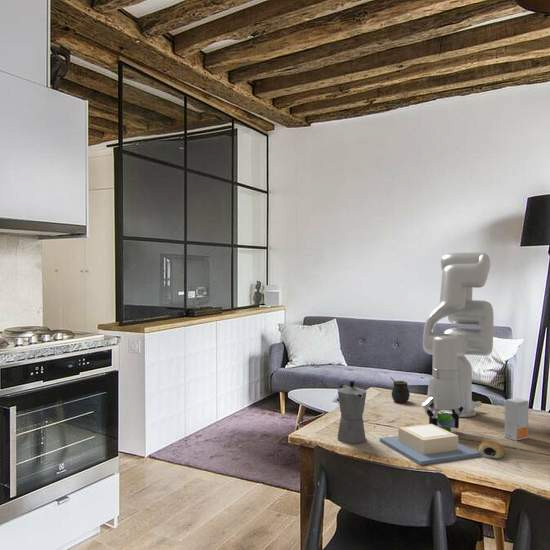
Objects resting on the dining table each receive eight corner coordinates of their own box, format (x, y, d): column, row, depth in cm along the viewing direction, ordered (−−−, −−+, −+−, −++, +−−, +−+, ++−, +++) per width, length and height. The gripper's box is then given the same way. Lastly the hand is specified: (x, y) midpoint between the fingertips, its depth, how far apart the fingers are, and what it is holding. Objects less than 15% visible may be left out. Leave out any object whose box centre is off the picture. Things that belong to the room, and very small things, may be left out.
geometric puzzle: (454, 431, 151) (455, 407, 155) (431, 429, 153) (432, 405, 158) (455, 440, 156) (455, 416, 161) (432, 437, 159) (433, 414, 163)
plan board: (433, 434, 155) (433, 418, 155) (479, 456, 136) (479, 438, 136) (379, 441, 148) (379, 424, 148) (420, 465, 129) (420, 446, 129)
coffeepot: (375, 444, 145) (375, 384, 145) (346, 447, 143) (346, 386, 143) (353, 429, 160) (353, 374, 160) (326, 431, 157) (327, 376, 157)
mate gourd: (412, 403, 193) (412, 378, 193) (393, 404, 192) (393, 379, 192) (406, 399, 200) (406, 375, 200) (388, 399, 200) (388, 375, 200)
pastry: (481, 446, 144) (481, 434, 144) (506, 451, 141) (506, 438, 141) (476, 456, 136) (477, 443, 136) (503, 461, 133) (503, 447, 133)
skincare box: (516, 441, 149) (516, 402, 149) (504, 437, 153) (504, 399, 153) (528, 438, 152) (529, 400, 152) (516, 434, 155) (516, 397, 156)
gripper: (458, 371, 164) (457, 422, 163) (414, 373, 158) (414, 427, 157) (474, 375, 157) (473, 429, 156) (429, 378, 151) (429, 434, 150)
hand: (444, 428), depth 157 cm, fingers closed on geometric puzzle, 7 cm apart
